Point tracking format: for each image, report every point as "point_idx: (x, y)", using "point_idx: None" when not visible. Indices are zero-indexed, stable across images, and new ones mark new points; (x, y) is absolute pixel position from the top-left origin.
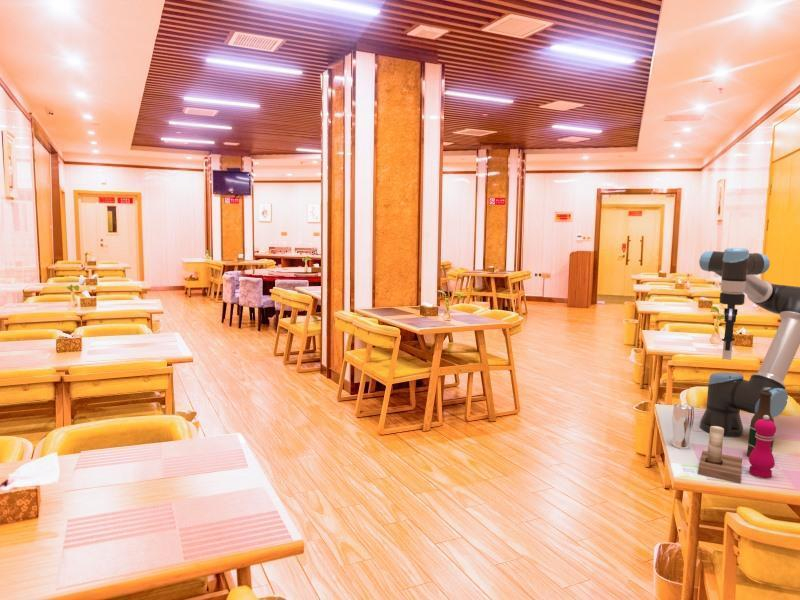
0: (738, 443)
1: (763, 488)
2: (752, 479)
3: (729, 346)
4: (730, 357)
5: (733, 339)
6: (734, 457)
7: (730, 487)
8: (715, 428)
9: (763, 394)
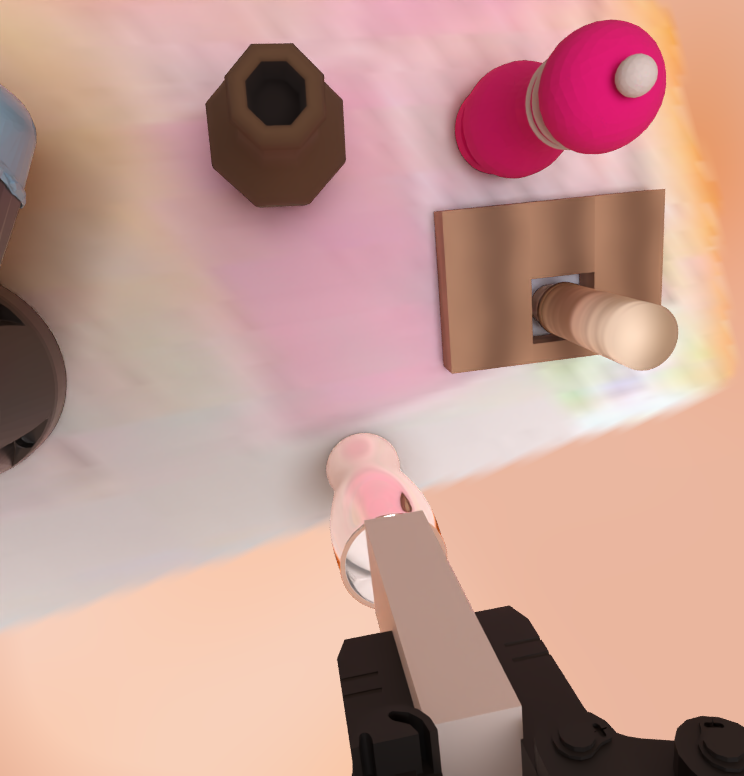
0: (121, 265)
1: None
2: (577, 152)
3: (549, 662)
4: (432, 533)
5: (438, 745)
6: (458, 243)
7: (707, 216)
8: (658, 343)
9: (324, 114)
